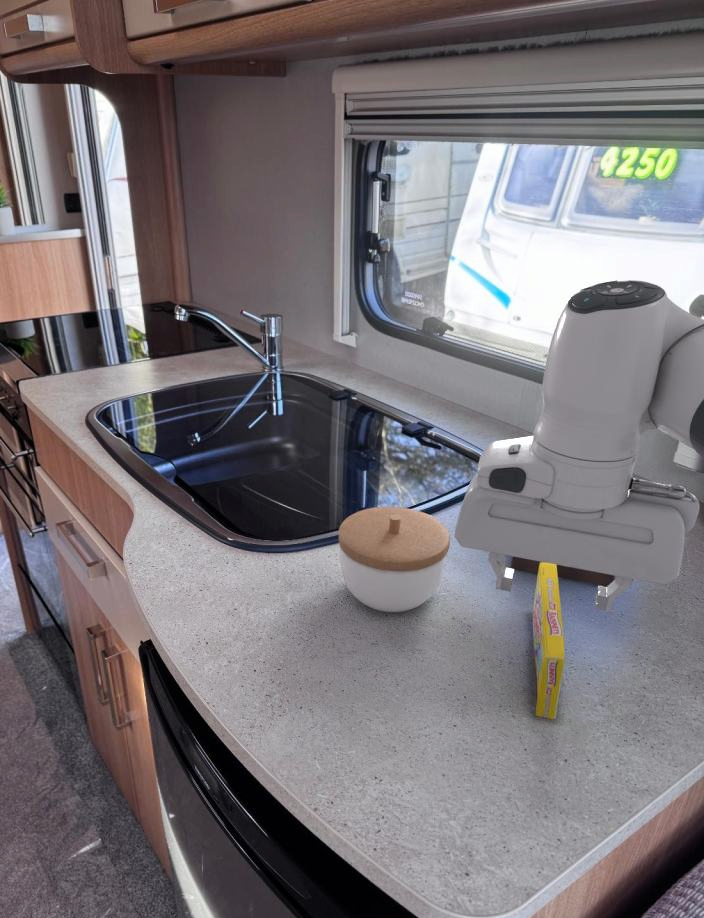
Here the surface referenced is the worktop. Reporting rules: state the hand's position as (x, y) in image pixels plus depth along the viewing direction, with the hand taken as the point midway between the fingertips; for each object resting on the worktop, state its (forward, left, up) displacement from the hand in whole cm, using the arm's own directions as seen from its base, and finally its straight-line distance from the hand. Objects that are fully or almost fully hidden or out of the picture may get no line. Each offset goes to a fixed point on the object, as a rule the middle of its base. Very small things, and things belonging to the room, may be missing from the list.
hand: (551, 597), depth 71 cm
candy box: (0, 0, -9) cm, 9 cm away
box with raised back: (-1, -30, -9) cm, 31 cm away
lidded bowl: (+18, -7, -9) cm, 21 cm away
